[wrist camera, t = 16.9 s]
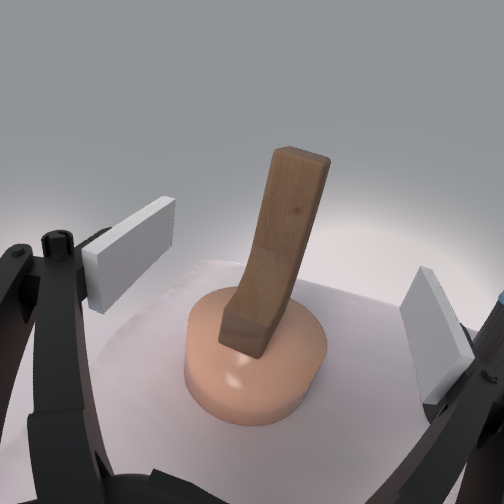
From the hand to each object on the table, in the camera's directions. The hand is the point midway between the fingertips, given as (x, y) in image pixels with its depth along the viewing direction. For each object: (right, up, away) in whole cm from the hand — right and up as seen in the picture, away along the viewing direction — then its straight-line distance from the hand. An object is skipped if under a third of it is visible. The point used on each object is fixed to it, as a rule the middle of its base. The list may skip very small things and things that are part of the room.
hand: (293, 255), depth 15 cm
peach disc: (-3, -15, +20) cm, 25 cm away
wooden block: (-2, -8, +17) cm, 19 cm away
